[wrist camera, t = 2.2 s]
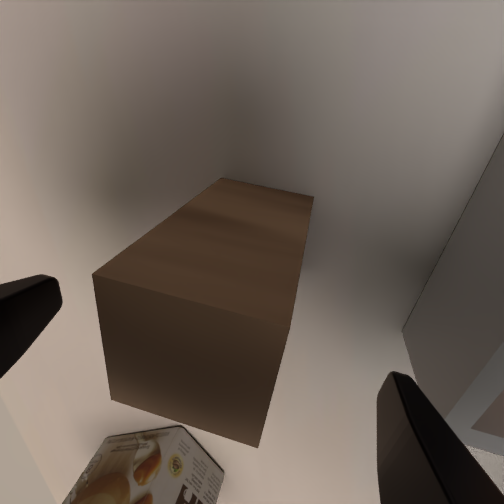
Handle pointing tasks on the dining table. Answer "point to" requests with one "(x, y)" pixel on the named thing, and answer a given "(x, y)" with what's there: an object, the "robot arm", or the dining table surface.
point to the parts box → (466, 320)
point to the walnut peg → (206, 308)
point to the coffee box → (149, 471)
